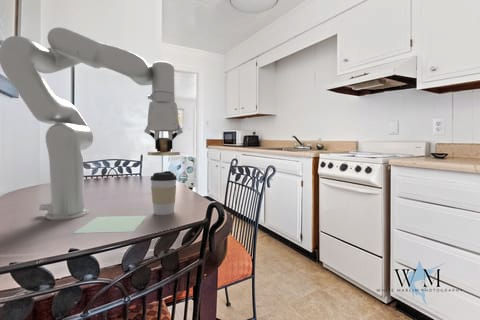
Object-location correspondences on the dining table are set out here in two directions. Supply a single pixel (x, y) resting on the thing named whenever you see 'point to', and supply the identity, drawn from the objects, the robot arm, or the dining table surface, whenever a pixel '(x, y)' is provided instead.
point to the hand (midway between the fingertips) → (164, 150)
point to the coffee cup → (163, 192)
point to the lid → (163, 149)
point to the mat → (112, 224)
